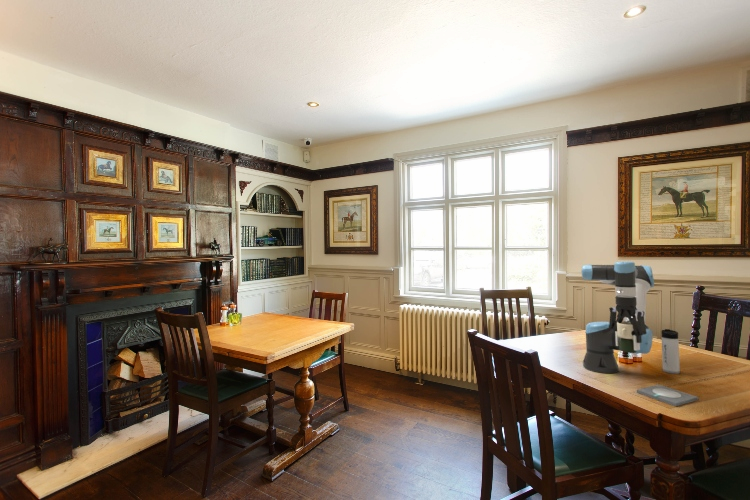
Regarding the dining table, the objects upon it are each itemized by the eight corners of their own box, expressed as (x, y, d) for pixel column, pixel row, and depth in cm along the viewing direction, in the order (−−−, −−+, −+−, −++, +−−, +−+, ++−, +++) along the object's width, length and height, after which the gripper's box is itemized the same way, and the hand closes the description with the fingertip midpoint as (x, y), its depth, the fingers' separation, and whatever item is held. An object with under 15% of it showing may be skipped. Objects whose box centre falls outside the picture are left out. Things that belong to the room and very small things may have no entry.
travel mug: (676, 370, 167) (675, 329, 167) (682, 374, 161) (680, 332, 161) (660, 368, 169) (659, 328, 169) (665, 373, 163) (663, 331, 163)
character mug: (634, 356, 145) (633, 326, 145) (614, 353, 150) (613, 324, 150) (640, 351, 152) (639, 322, 152) (621, 348, 157) (620, 320, 157)
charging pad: (636, 392, 143) (636, 389, 143) (658, 387, 148) (658, 383, 148) (675, 406, 130) (675, 402, 130) (698, 400, 135) (698, 396, 135)
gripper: (598, 294, 159) (600, 343, 159) (644, 299, 140) (646, 355, 140) (609, 293, 162) (611, 341, 162) (656, 298, 143) (658, 352, 143)
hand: (627, 347), depth 151 cm, fingers closed on character mug, 7 cm apart
